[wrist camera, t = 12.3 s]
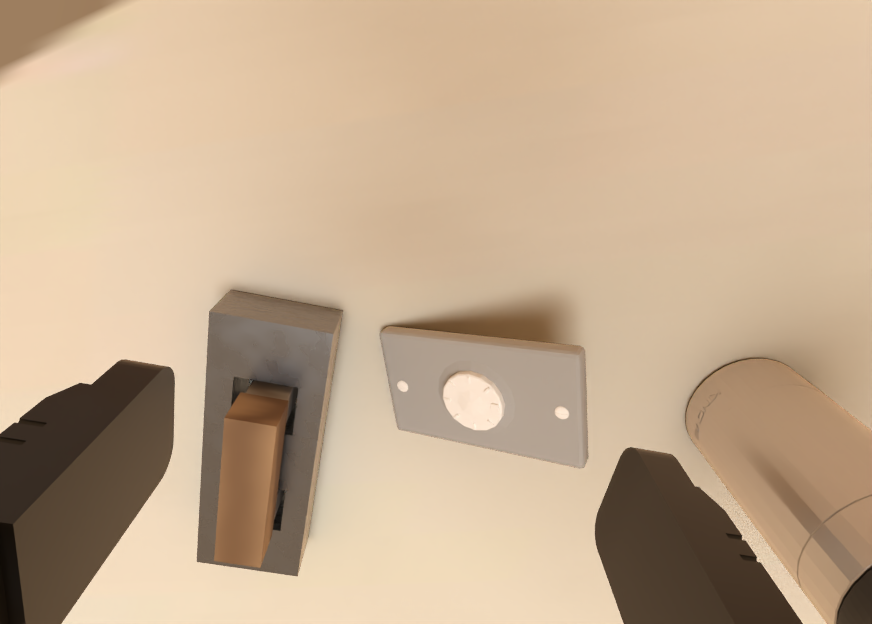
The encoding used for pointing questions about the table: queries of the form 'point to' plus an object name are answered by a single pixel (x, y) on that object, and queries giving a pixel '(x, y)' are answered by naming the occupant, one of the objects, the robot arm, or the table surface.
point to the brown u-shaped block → (251, 472)
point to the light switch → (490, 392)
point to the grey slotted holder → (312, 374)
